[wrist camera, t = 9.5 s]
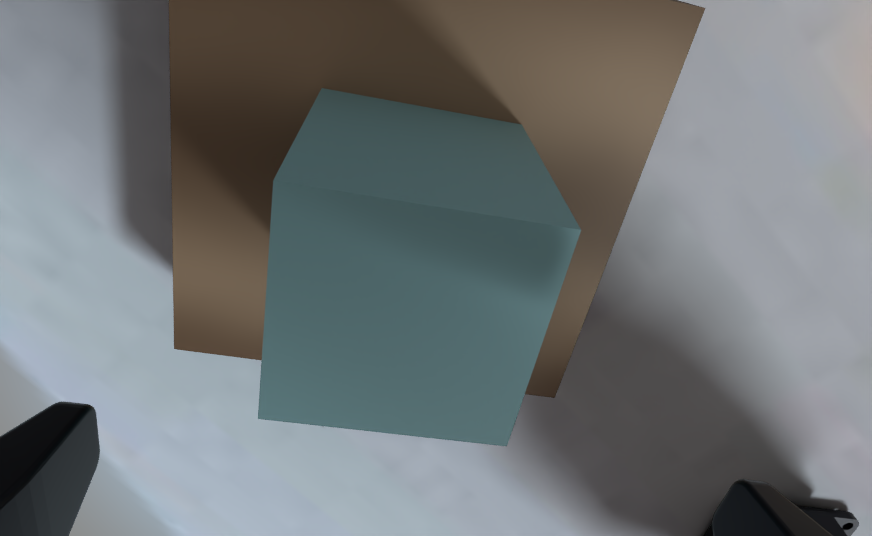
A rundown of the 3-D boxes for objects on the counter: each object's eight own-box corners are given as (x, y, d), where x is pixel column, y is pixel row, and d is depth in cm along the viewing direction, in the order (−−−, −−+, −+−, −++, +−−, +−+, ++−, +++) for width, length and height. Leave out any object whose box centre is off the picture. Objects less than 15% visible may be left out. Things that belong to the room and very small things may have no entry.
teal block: (477, 291, 18) (506, 446, 12) (304, 266, 17) (257, 418, 12) (521, 124, 15) (581, 229, 10) (321, 88, 14) (273, 179, 9)
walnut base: (537, 342, 22) (554, 397, 20) (203, 295, 21) (174, 349, 18) (658, -6, 17) (705, 8, 14) (209, -107, 15) (167, -113, 12)
